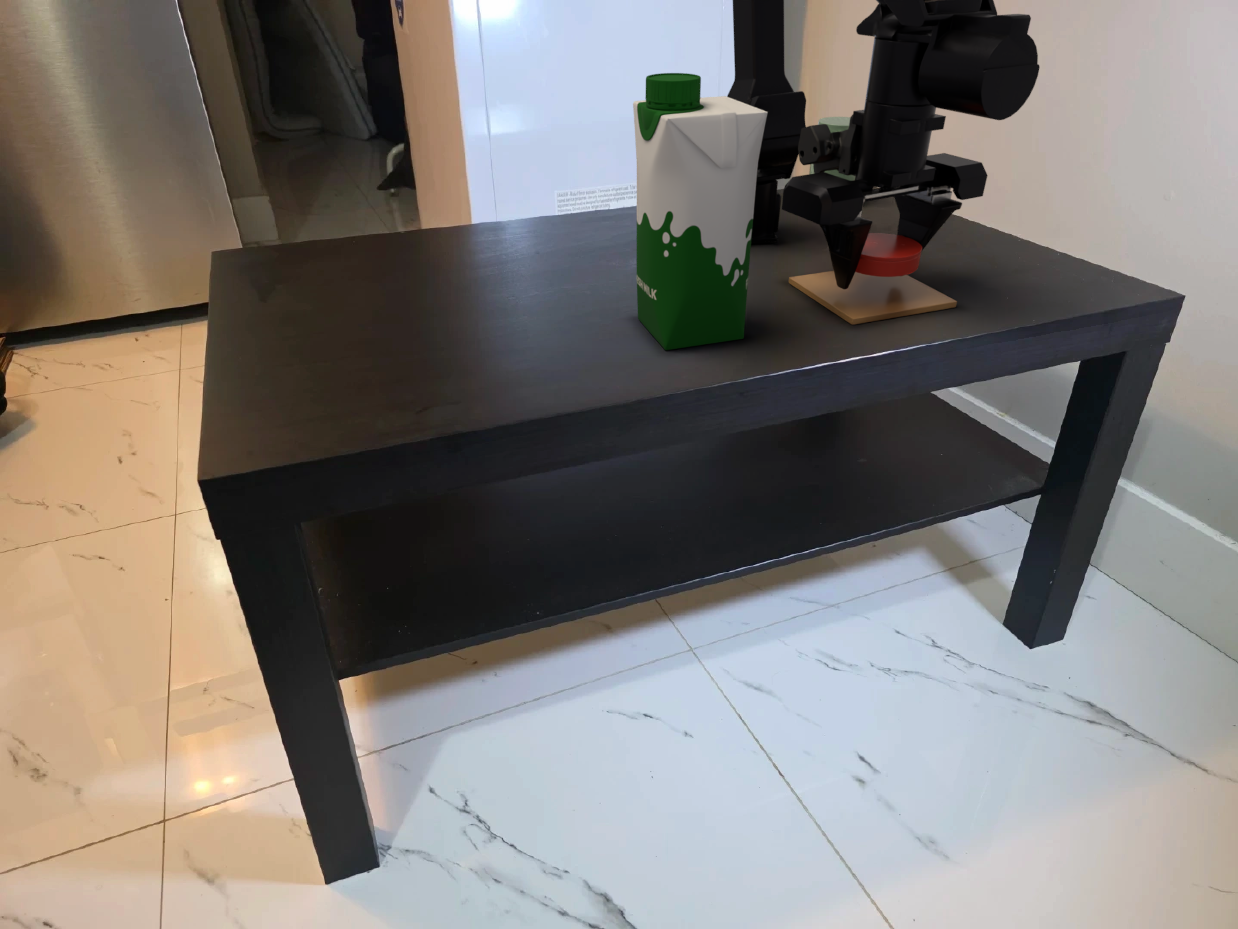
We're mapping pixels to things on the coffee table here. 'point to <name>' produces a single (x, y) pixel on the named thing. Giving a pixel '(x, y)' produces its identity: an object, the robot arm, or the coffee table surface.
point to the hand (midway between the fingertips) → (871, 281)
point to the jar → (834, 126)
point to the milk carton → (694, 210)
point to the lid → (889, 255)
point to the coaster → (872, 296)
